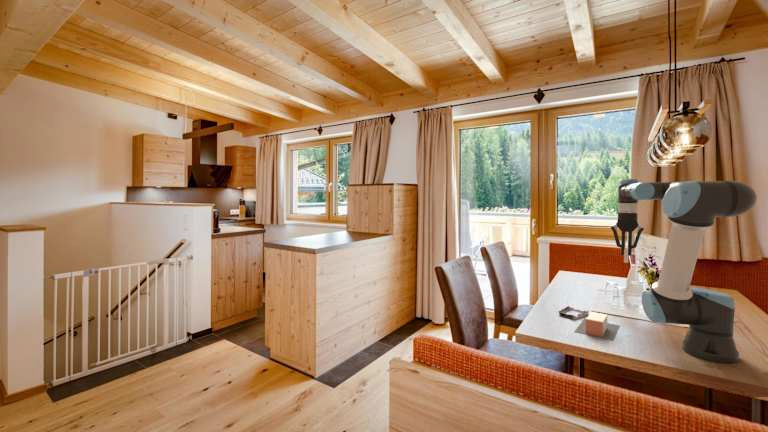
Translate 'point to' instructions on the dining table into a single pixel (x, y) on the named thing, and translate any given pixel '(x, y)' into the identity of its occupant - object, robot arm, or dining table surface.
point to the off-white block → (596, 324)
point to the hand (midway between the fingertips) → (626, 262)
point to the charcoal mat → (608, 334)
